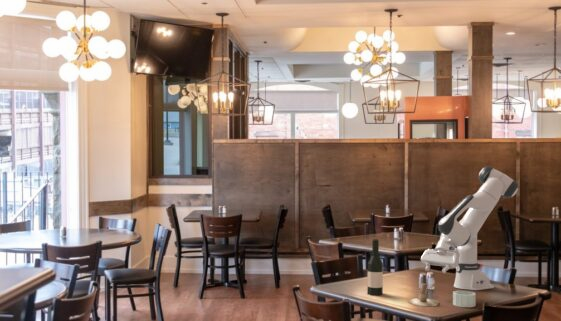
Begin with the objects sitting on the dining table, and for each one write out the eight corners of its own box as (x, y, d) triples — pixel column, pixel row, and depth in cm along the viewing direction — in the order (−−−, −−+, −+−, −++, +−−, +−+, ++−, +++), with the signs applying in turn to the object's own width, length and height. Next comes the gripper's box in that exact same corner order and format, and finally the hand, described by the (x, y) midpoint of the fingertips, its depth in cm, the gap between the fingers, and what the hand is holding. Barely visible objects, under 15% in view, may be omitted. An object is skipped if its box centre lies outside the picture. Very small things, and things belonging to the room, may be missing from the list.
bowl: (467, 301, 351) (467, 290, 351) (479, 306, 341) (479, 294, 341) (448, 302, 348) (448, 291, 348) (460, 307, 338) (460, 295, 338)
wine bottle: (365, 292, 372) (366, 237, 371) (380, 292, 373) (381, 237, 372) (369, 295, 364) (369, 239, 363) (384, 295, 364) (384, 239, 364)
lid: (429, 299, 357) (429, 280, 357) (444, 305, 343) (444, 286, 343) (403, 301, 353) (403, 282, 353) (417, 307, 338) (417, 287, 338)
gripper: (424, 244, 368) (415, 265, 361) (459, 248, 355) (451, 269, 348) (427, 252, 372) (419, 272, 364) (463, 256, 359) (454, 277, 351)
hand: (435, 271), depth 356 cm, fingers open, 8 cm apart
